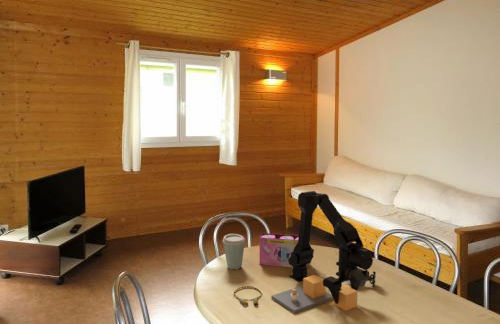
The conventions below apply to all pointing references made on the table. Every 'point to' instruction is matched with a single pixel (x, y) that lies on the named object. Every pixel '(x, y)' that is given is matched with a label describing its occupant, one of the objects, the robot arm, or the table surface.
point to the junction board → (304, 295)
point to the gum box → (277, 248)
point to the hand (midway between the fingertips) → (345, 300)
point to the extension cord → (251, 299)
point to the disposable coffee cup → (234, 250)
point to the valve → (371, 278)
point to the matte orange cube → (347, 298)
